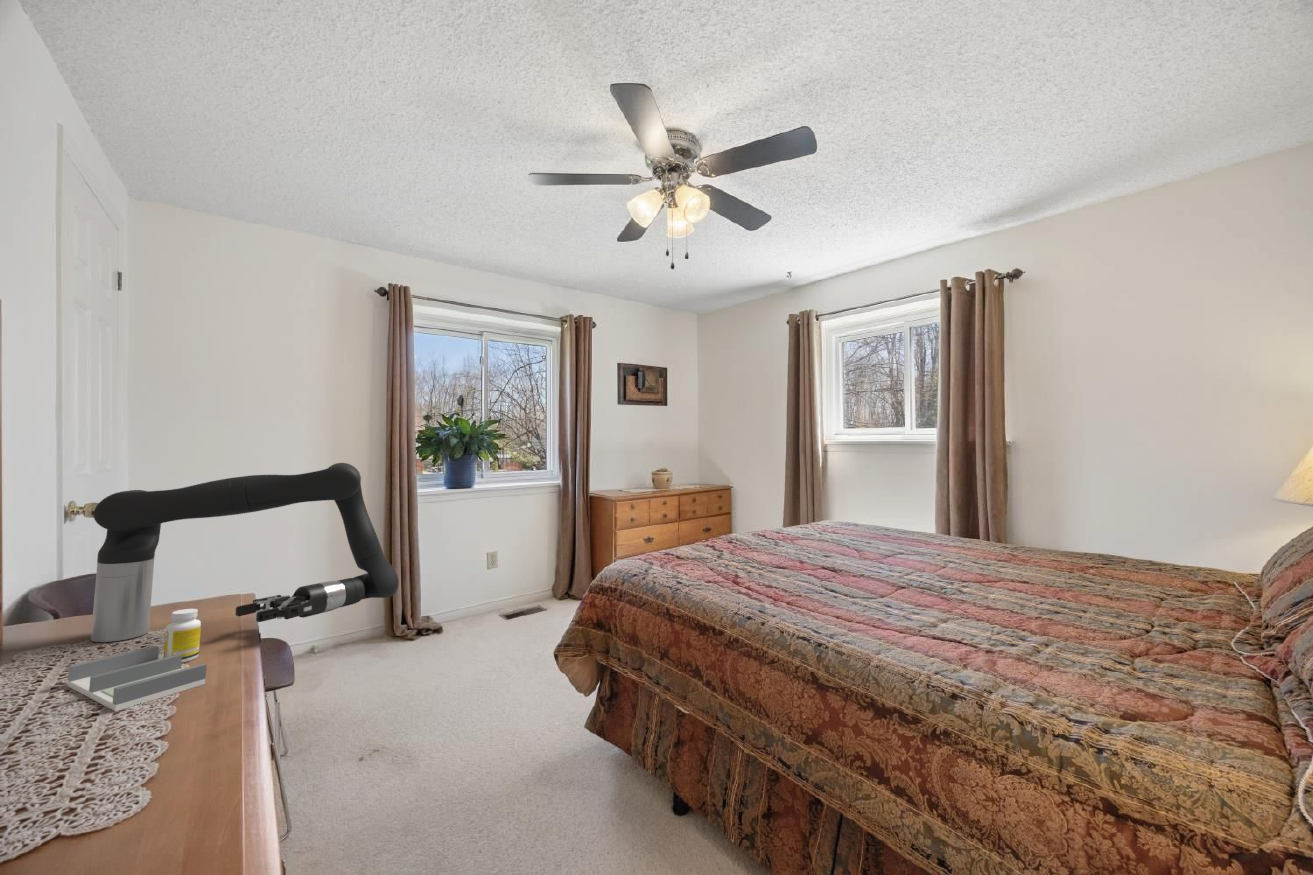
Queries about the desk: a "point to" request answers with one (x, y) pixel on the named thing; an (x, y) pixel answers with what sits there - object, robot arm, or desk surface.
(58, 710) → the desk surface
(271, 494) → the robot arm
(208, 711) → the desk surface
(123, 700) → the divided tray
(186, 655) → the supplement bottle
